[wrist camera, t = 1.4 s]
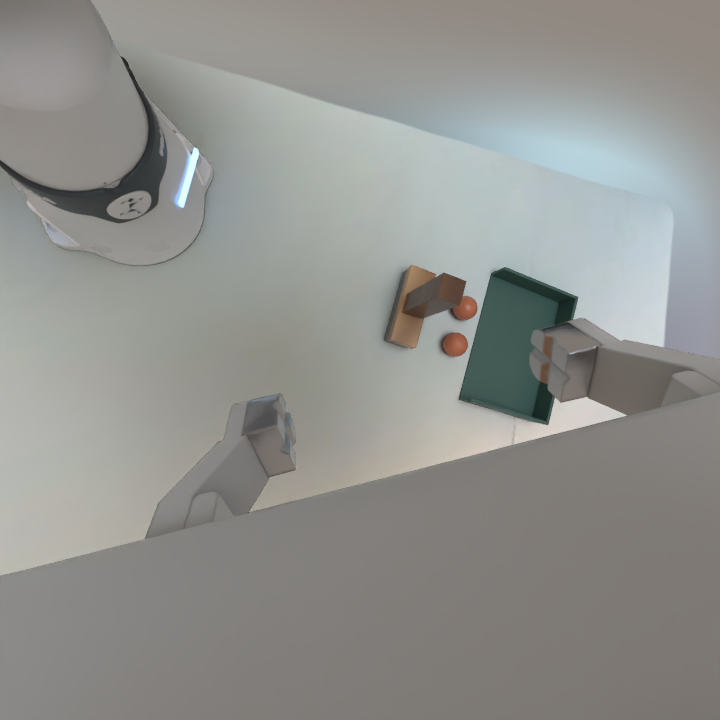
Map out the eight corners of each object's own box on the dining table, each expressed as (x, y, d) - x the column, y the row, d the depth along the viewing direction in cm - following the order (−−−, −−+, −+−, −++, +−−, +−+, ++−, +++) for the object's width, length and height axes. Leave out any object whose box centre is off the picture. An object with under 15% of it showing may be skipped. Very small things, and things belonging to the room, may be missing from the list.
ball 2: (434, 341, 49) (445, 340, 46) (452, 329, 50) (464, 326, 47) (446, 361, 49) (458, 360, 46) (464, 348, 50) (476, 347, 47)
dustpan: (458, 399, 50) (470, 401, 47) (491, 273, 51) (505, 266, 48) (580, 436, 54) (598, 440, 51) (606, 319, 56) (625, 316, 53)
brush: (383, 341, 47) (423, 331, 35) (403, 271, 48) (449, 236, 36) (406, 349, 48) (454, 342, 35) (426, 279, 49) (479, 248, 36)
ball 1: (444, 306, 50) (456, 301, 46) (461, 294, 50) (474, 289, 47) (456, 325, 50) (468, 322, 47) (473, 313, 51) (486, 310, 47)
